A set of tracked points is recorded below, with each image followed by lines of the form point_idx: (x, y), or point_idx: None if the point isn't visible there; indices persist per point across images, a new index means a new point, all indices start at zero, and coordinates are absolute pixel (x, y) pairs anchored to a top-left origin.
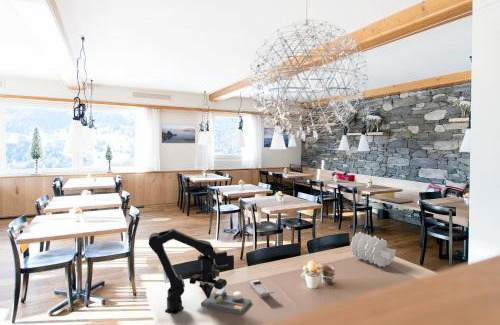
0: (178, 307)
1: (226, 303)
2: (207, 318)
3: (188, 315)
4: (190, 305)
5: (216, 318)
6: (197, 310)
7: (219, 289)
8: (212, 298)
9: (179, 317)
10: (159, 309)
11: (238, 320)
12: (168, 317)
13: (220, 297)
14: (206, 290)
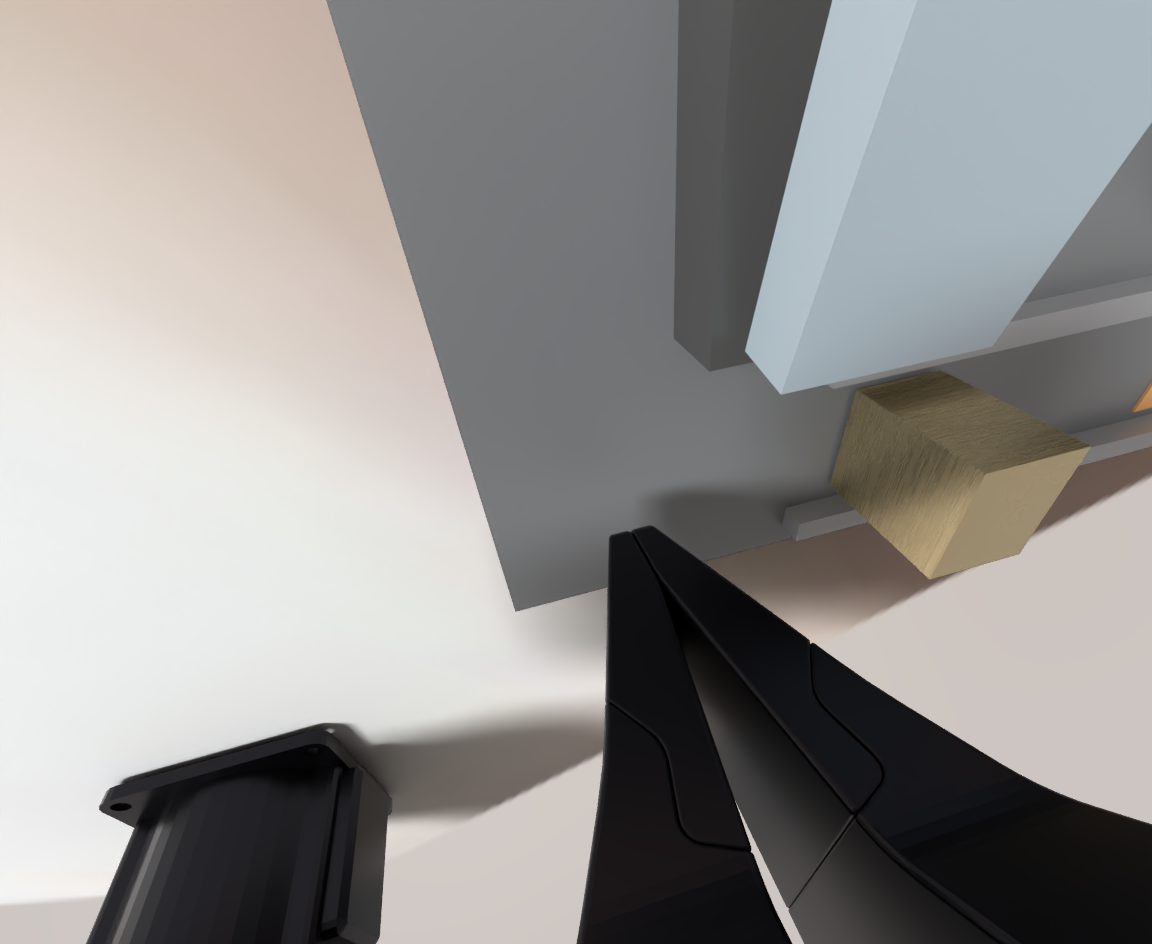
0: (381, 857)
1: (1020, 350)
2: None
3: (540, 731)
4: (337, 650)
5: (871, 596)
6: (557, 645)
7: (974, 47)
8: (622, 365)
9: (484, 783)
10: (101, 875)
11: (1125, 489)
12: (386, 834)
13: (1030, 511)
14: (788, 907)
